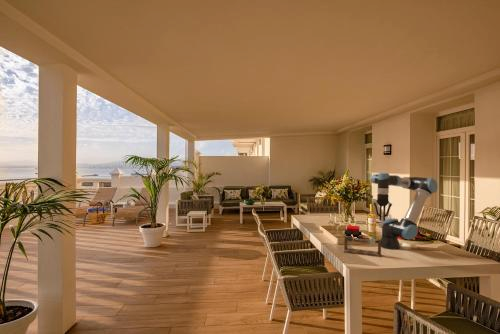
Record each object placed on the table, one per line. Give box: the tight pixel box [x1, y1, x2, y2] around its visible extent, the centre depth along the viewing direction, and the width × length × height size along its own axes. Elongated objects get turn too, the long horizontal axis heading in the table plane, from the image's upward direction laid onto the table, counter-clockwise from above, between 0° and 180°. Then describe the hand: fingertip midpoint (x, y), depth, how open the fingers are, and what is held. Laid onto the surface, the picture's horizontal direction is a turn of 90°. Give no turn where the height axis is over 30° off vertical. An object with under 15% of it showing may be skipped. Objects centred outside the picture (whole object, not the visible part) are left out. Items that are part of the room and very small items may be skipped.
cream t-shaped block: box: [368, 230, 376, 246], centre depth 223 cm, size 4×4×10 cm
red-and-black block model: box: [344, 224, 363, 239], centre depth 271 cm, size 15×8×25 cm
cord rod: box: [347, 236, 378, 244], centre depth 226 cm, size 24×3×3 cm, turn 67°
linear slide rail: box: [343, 235, 382, 258], centre depth 226 cm, size 26×8×12 cm, turn 67°
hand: (382, 225), depth 220 cm, fingers closed
